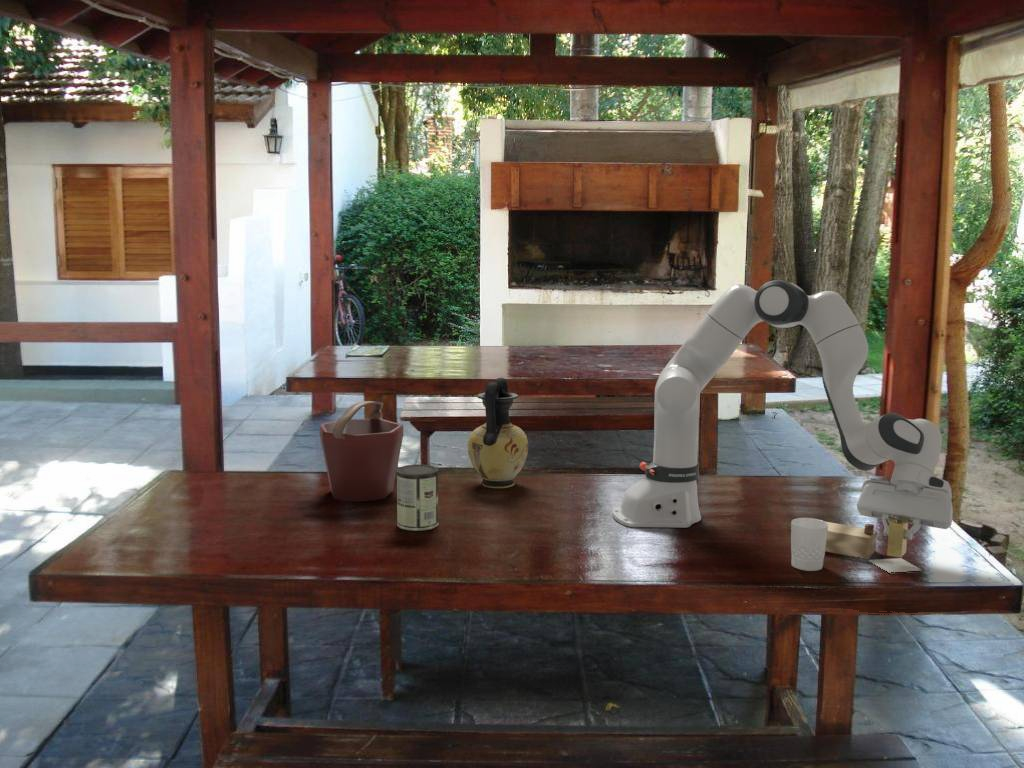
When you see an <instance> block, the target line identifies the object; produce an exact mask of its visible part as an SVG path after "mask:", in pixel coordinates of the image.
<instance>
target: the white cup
mask: <svg viewBox="0 0 1024 768" xmlns="http://www.w3.org/2000/svg"><path fill="white" fill-rule="evenodd" d="M790 522H791V523H790V524H791V525H790V528H791V529H790V552H791V560H790V561H791V564H790V565H791V566H792V567H793V568H795V569H798V570H801V571H806V572H816V571H820V570H822V569H823V567H824V560H825V559H824V557H825V554H826V551H825V549H826V541H827V532H828V523H826V522H827V521H824V520H822V519H817V518H813V517H812V518H811V517H797V518H794V519H792V520H791V521H790Z"/></svg>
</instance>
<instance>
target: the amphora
mask: <svg viewBox="0 0 1024 768" xmlns="http://www.w3.org/2000/svg"><path fill="white" fill-rule="evenodd" d="M508 386H509V383H508V381H507V379H506V378H505V377H498V378H496V379H495V382H494V381H492V382H491V381H490V382H489V383H488V384H487V385H486V388H485V392H482V393H477V396H476V397H477V398H478V399H480V400H482V401H481V402H482V406H483V407H484V408H485V423H484V424H482V425H480V426H478V427H476V428H475V429H473V431H472V432H471V434H470V435H469V438H468V442H467V451H468V456H469V460H470V462H471V465H472V467H473V469H474V471H476V473H477V474H478V475H479V476H480V477H481V478H482V482H481V484H482V486H484V487H485V488H489V489H507V488H512V487H514V486H515V485H516V484H515V481H514V478H516V476H517V475H518V474H520V472H521V470H522V469H523V468H524V464H525V463H526V460H527V457H528V452H529V440H528V437H527V434H526V433H525V431H524V430H522V428H520V427H519V426H517V425H515V424H513V423H512V422H511V420H510V409H511V407H512V406H513V404H514V400H516V399H518V398H519V395H518V394H517V393H515V392H508V391H509V387H508Z"/></svg>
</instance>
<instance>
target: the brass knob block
mask: <svg viewBox="0 0 1024 768" xmlns="http://www.w3.org/2000/svg"><path fill="white" fill-rule="evenodd" d="M888 526H889V536H887V537H888V539H887V550H886V551H887V552H886V553H887V554H886V555H887V556H891V557H896V558H903V556H904V555H905V554H906V553H907V545H908V540H907V539H904V533H905V529H908V530H909V523H908V520H907V519H903V518H902V517H896V518H894V519H893V520H890V522H889V524H888Z"/></svg>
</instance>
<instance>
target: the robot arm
mask: <svg viewBox="0 0 1024 768" xmlns="http://www.w3.org/2000/svg"><path fill="white" fill-rule="evenodd" d="M762 322H764V323H766V324H768V325H770V326H772V327H774V328H778V329H787V330H788V329H795V328H797V327H800V326H803V328H805V329H806V330H807V331H808V333H809V334H810V335H809V336H810V337H811V339H812V341H813V343H814V345H815V348H816V349H817V351H818V354H819V358H820V361H821V366H822V375H821V376H822V377H821V378H822V384H823V388H824V392H825V396H826V398H827V401H828V404H829V407H830V409H831V413H832V415H833V418H834V420H835V425H836V427H837V429H838V434H839V439H840V444H841V446H840V447H841V450H842V453H843V456H844V458H845V460H846V461H847V462H848V463H849V464H850V465H852V467H854V468H856V469H858V470H859V471H872V470H874V469H875V468H876V467H878V466H880V465H882V464H883V463H885V462H887V461H889V460H890V461H892V462H893V463H894V466H893V467H894V468H893V470H892V475H891V478H890V480H885V479H884V480H882V479H877V478H871V479H870V480H869V479H868V480H866V481H864V482H863V483H862V485H861V489H860V490H861V493H860V495H859V497H858V500H857V503H856V508H857V511H858V513H859V515H860V516H864V517H869V518H875V519H881V520H882V524H883V526H884V528H883V532H882V533H883V536H884V537H885V536H886V537H888V536H889V522H890V521H891V520H893V519H894V518H896V517H902V518H903V519H907V520H908V524H912V527H910V528H908V529H905V533H904V539H907V541H912V540H913V538H914V535H915V534H916V533H917V532H918V531H919V530H920V529H921V527H922V526H923V527H924V526H925V527H930V528H935V529H936V528H937V529H942V530H948V529H949V528H951V526H952V524H953V523H952V522H953V512H954V509H953V502H952V498H953V497H952V496H953V493H952V487H951V485H950V483H949V482H948V481H947V480H944V479H943V478H940V477H938V476H935V469H936V468H937V466H938V464H939V460H940V456H941V452H942V451H941V450H942V445H943V444H942V443H943V442H942V441H943V439H942V432H941V429H940V427H938V426H937V425H936V424H935V423H934V422H932V421H931V420H927V419H925V418H915V419H909V418H906V417H905V416H903V415H901V414H899V413H894V412H888V413H885V414H882V415H880V416H879V417H877V418H875V419H872V420H871V421H870V422H868V423H866V424H865V422H864V421H863V417H862V415H861V413H860V409H859V405H858V404H857V400H856V398H855V395H854V383H855V381H856V378H857V376H858V374H859V373H860V370H861V369H862V368H863V366H864V364H865V362H866V360H867V359H868V354H869V350H870V349H869V343H868V339H867V337H866V335H865V332H864V330H863V328H862V327H861V325H860V323H859V321H858V319H857V317H856V316H855V313H854V312H853V310H852V309H851V308H850V307H849V305H848V303H847V302H846V301H845V299H844V298H843V297H842V296H841V294H840V293H838V292H836V291H833V290H823V291H819V292H817V293H814V294H812V295H808V293H806V291H805V290H803V289H802V288H801V287H800V286H798V284H796V283H793V282H789V281H787V280H783V279H774V280H769V281H768V282H765V283H764V284H763V285H761V286H760V287H759V289H758V290H755V289H754V288H752V287H751V286H749V285H745V284H739V283H738V284H733V285H732V286H731V287H729V288H728V289H727V290H726V291H725V292H724V293H723V294H722V295H721V296H720V297H718V299H717V300H716V301H715V302H714V303H713V304H712V305H711V307H710V308H709V309H708V311H707V312H706V314H705V315H704V316H703V318H702V319H701V320H700V322H699V323H698V324H697V325H696V327H695V328H694V330H693V331H692V332H691V333H690V335H689V336H688V337H687V338H686V340H685V341H684V342H683V344H681V346H680V348H679V349H677V351H676V352H675V354H674V355H673V357H671V359H670V360H669V362H667V364H666V365H665V367H664V368H663V369H662V370H661V372H660V373H659V375H658V377H657V378H658V379H657V380H656V383H655V387H654V402H653V403H654V405H653V406H654V408H653V409H654V412H653V414H654V415H653V416H654V417H653V420H654V421H653V422H654V424H653V425H654V426H653V429H654V432H653V434H654V435H653V457H652V458H653V460H652V461H651V462H650V463H649V464H648V463H647V462H645V461H641V462H640V464H639V469H640V470H641V471H644V472H645V476H644V477H643V478H642V479H640V480H639V481H638V482H636V483H634V484H633V485H632V486H630V487H629V488H628V489H626V490H625V491H624V493H623V496H622V499H621V504H620V507H615V508H614V509H612V513H611V514H612V518H613V519H614V520H615V521H617V522H618V523H619V524H620V525H623V526H626V527H629V528H630V527H631V528H684V529H685V528H686V529H687V528H690V527H691V526H692V525H693V524H695V523H698V522H700V521H701V520H702V515H701V512H700V507H699V501H698V500H699V499H698V485H699V477H700V471H699V469H700V468H699V467H700V465H699V463H698V453H699V451H698V450H699V428H700V427H699V426H700V402H701V399H700V398H701V393H702V391H703V390H704V389H705V387H706V386H707V385H708V384H709V383H710V381H711V380H712V379H713V377H715V375H716V374H717V373H718V372H719V371H720V369H721V368H722V367H724V366H725V364H726V363H727V362H728V361H729V359H730V358H731V356H732V355H733V354H734V352H735V351H736V350H737V348H739V346H740V345H741V343H742V342H743V341H744V339H745V338H746V336H747V335H748V334H749V332H750V331H752V329H753V328H754V327H755V326H756V325H757V324H759V323H762Z"/></svg>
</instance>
